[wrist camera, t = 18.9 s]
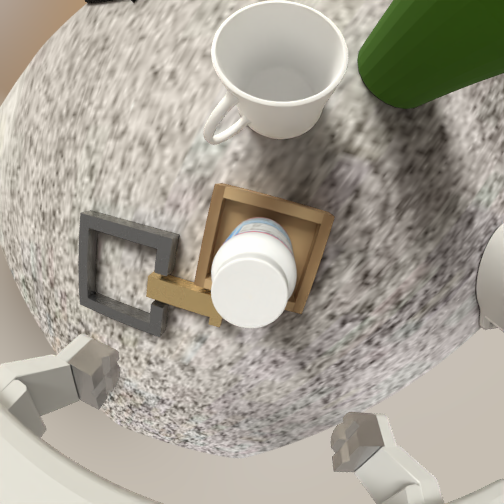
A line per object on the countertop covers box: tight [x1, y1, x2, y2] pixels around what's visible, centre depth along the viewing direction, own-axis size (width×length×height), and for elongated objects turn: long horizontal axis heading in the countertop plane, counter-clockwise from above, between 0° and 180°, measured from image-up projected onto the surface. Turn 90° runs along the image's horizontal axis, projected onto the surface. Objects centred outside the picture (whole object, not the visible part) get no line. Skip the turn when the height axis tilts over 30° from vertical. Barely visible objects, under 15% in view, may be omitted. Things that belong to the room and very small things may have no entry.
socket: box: [79, 210, 179, 337], centre depth 29 cm, size 12×12×2 cm
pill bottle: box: [211, 217, 297, 329], centre depth 21 cm, size 6×6×11 cm
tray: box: [194, 183, 334, 314], centre depth 26 cm, size 11×10×3 cm
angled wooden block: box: [146, 272, 223, 327], centre depth 28 cm, size 9×3×3 cm, turn 76°
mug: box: [203, 1, 348, 145], centre depth 18 cm, size 12×8×12 cm
